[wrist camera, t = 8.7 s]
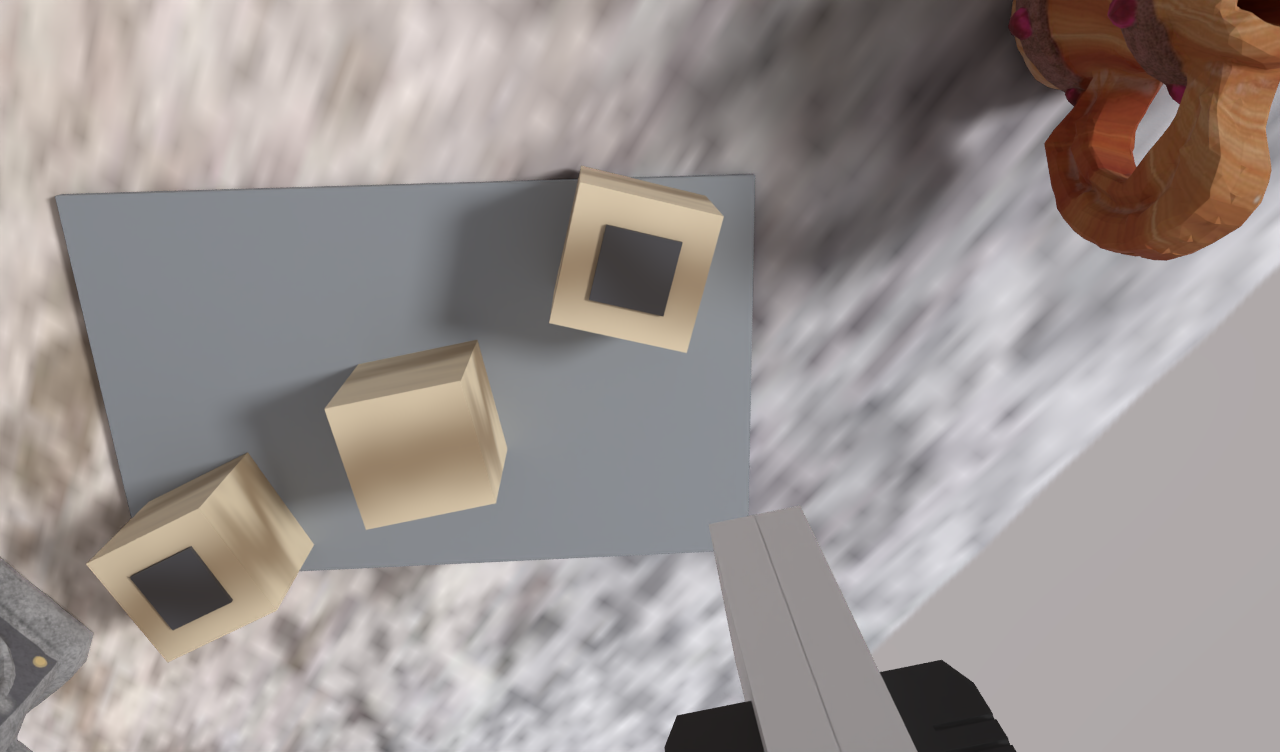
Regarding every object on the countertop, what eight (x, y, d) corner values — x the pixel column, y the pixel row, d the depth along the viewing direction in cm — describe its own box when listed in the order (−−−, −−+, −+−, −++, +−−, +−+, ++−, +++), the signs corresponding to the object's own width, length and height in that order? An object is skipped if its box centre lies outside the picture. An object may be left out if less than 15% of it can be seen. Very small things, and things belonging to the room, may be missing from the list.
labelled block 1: (147, 502, 46) (83, 566, 40) (247, 452, 45) (197, 510, 39) (217, 591, 48) (165, 665, 42) (314, 544, 47) (275, 612, 41)
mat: (62, 194, 41) (54, 195, 41) (752, 173, 42) (755, 175, 42) (151, 572, 48) (145, 578, 47) (745, 544, 49) (747, 549, 49)
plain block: (358, 364, 44) (324, 408, 38) (477, 339, 44) (461, 380, 38) (393, 472, 46) (366, 529, 40) (507, 449, 46) (495, 503, 40)
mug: (1029, -142, 39) (1283, -260, 25) (1198, -95, 40) (1536, -182, 26) (922, 192, 43) (1084, 255, 29) (1076, 227, 44) (1305, 305, 30)
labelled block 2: (581, 165, 41) (579, 182, 36) (705, 195, 42) (724, 217, 36) (554, 288, 43) (548, 324, 37) (674, 315, 44) (687, 354, 38)
